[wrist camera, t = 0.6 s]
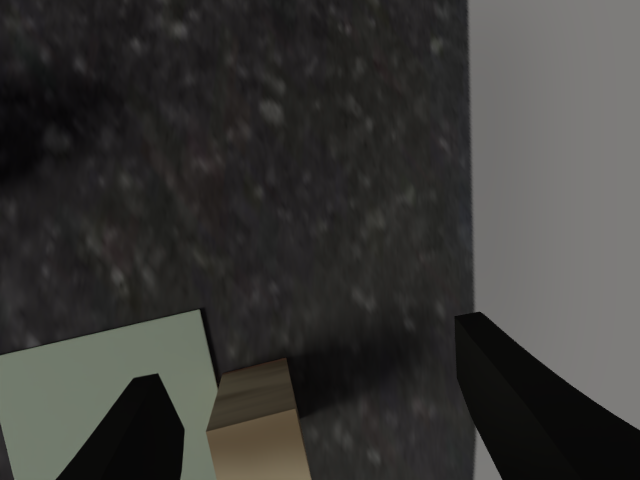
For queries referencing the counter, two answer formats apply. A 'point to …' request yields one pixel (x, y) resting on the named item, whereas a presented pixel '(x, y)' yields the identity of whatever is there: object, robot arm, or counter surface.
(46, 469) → the mat
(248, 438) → the maple block
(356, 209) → the counter surface
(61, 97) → the counter surface
